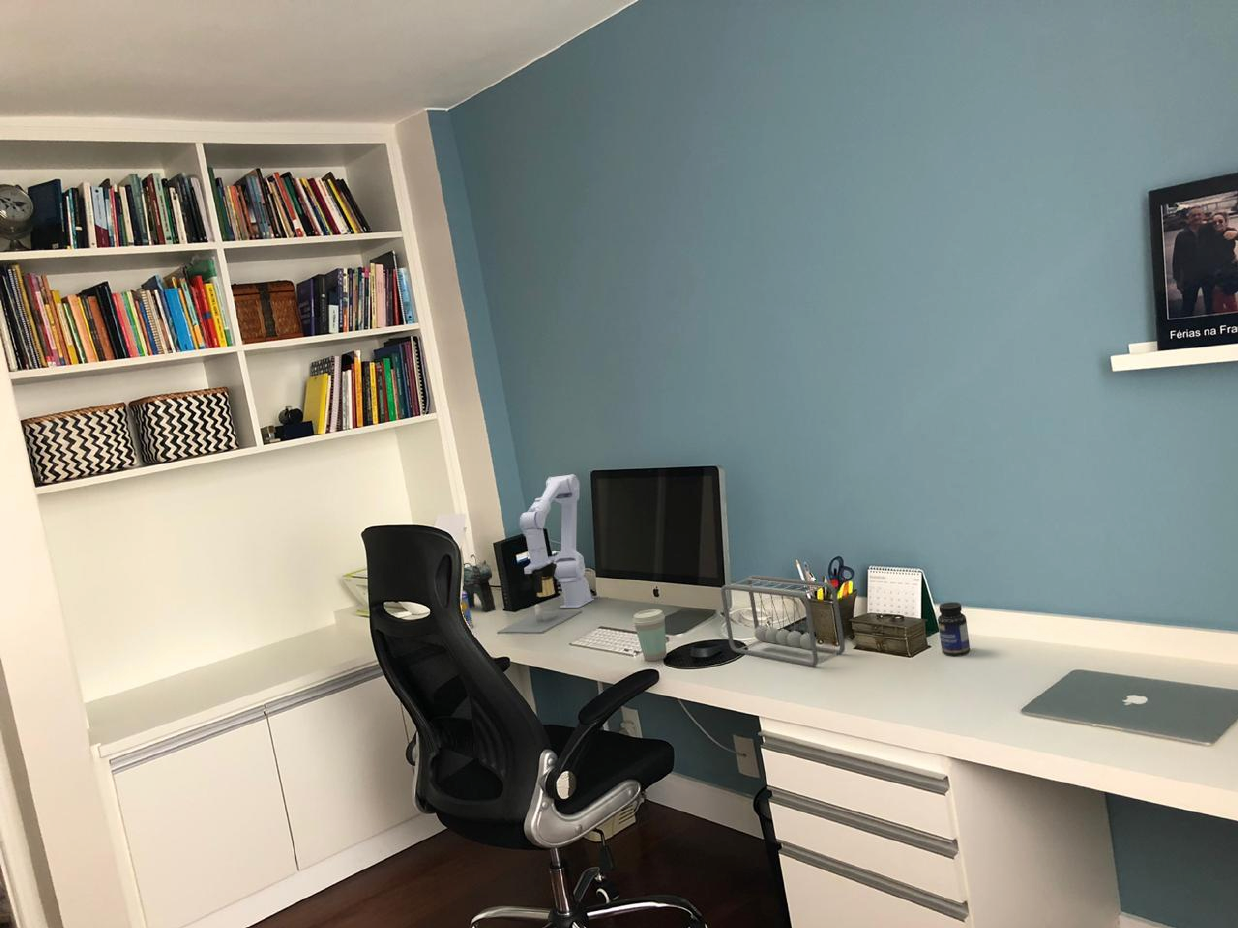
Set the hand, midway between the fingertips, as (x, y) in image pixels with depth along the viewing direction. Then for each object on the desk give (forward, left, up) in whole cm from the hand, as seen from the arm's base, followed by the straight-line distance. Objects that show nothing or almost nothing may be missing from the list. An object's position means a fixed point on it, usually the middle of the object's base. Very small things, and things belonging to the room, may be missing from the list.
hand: (544, 589), depth 318 cm
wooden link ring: (0, 0, -1) cm, 1 cm away
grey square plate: (+1, -3, -10) cm, 11 cm away
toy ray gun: (-16, -43, -11) cm, 47 cm away
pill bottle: (+26, +134, -11) cm, 137 cm away
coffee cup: (+32, +58, -11) cm, 67 cm away
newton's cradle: (+28, +93, -11) cm, 97 cm away
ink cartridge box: (+8, -32, -11) cm, 35 cm away
